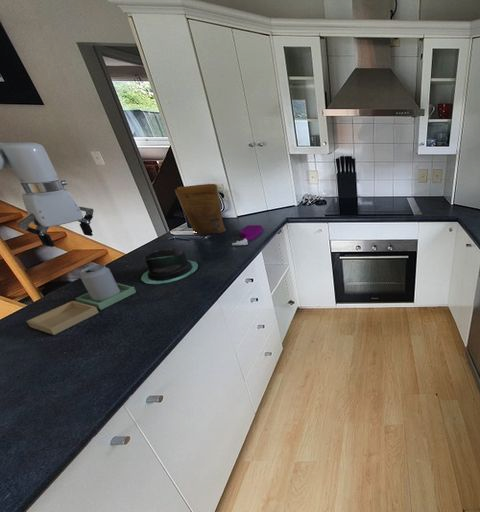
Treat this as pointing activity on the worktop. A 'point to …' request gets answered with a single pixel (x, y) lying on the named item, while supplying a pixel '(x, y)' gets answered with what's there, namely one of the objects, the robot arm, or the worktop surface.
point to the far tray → (124, 293)
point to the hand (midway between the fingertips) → (70, 240)
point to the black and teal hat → (167, 266)
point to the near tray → (62, 317)
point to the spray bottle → (249, 234)
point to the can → (99, 282)
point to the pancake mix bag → (202, 208)
